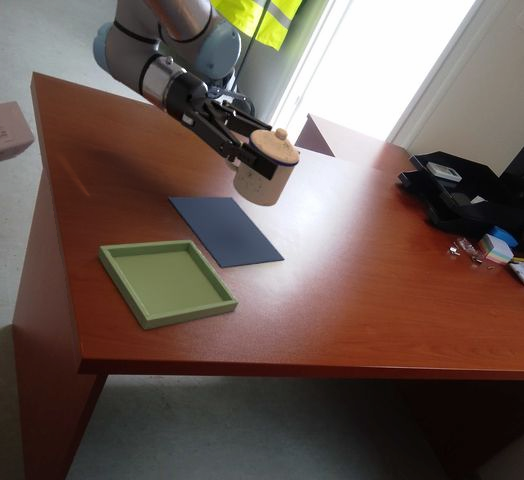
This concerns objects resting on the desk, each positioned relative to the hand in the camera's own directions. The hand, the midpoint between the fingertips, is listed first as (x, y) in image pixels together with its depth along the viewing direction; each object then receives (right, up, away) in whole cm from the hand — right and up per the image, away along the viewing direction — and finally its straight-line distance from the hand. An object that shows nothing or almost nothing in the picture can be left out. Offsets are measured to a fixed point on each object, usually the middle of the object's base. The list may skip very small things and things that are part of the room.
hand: (285, 166), depth 76 cm
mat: (-11, -7, +14) cm, 19 cm away
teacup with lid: (-7, -2, +5) cm, 8 cm away
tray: (-19, -20, -4) cm, 28 cm away
